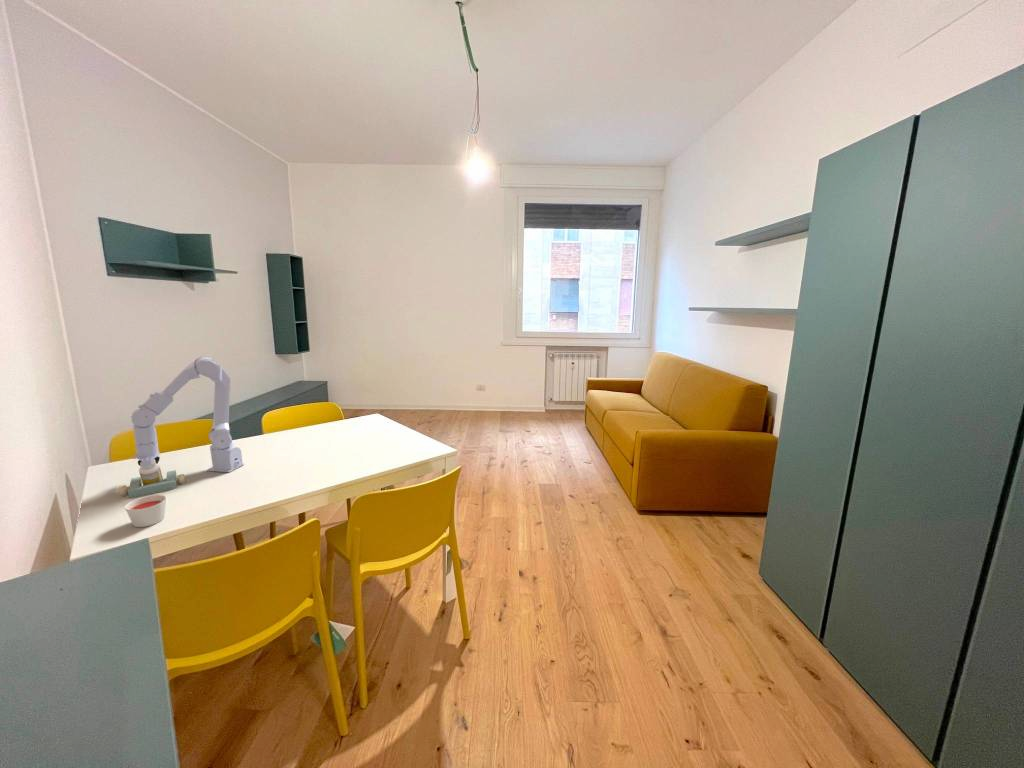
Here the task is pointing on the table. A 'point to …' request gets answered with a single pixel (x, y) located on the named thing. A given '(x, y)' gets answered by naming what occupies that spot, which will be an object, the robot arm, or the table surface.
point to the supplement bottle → (150, 473)
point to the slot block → (151, 485)
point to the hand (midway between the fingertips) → (151, 478)
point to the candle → (146, 510)
